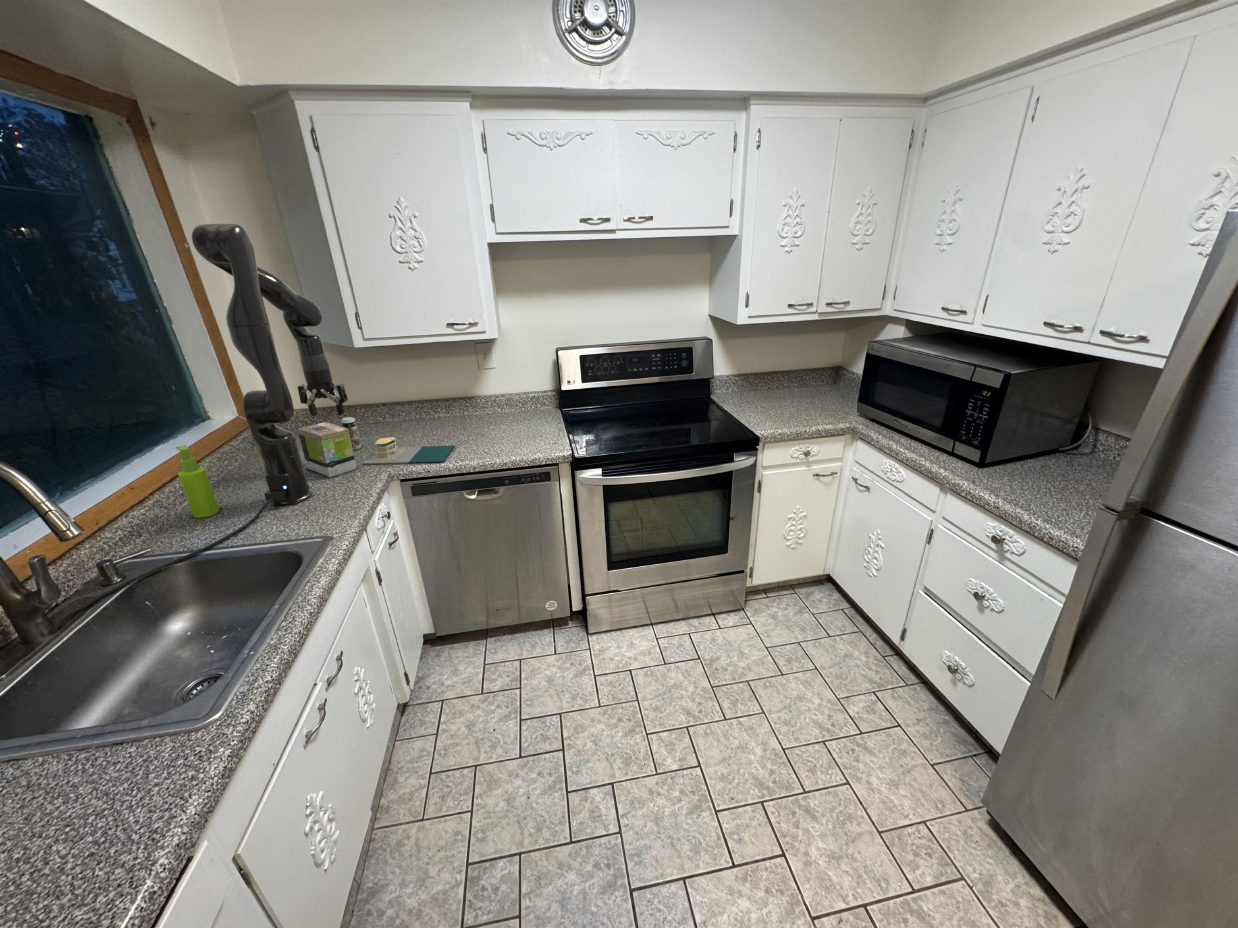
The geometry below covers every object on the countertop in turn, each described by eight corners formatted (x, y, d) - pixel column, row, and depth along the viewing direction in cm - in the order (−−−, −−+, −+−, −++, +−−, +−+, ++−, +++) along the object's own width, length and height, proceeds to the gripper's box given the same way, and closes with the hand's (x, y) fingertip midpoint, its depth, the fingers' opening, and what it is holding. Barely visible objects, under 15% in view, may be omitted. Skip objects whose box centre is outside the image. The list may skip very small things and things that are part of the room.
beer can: (355, 451, 190) (349, 420, 185) (344, 450, 191) (337, 420, 186) (364, 446, 194) (357, 417, 190) (353, 446, 195) (346, 416, 190)
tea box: (358, 468, 174) (349, 427, 168) (329, 478, 166) (318, 436, 161) (335, 459, 182) (325, 420, 176) (306, 468, 174) (295, 428, 168)
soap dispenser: (214, 505, 148) (192, 441, 141) (222, 512, 144) (199, 447, 137) (190, 512, 144) (165, 447, 137) (196, 520, 140) (172, 453, 133)
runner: (443, 462, 178) (442, 461, 178) (362, 464, 177) (362, 463, 177) (454, 447, 193) (454, 445, 193) (380, 448, 192) (379, 447, 192)
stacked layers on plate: (394, 459, 180) (392, 445, 178) (369, 459, 180) (366, 445, 178) (405, 449, 189) (403, 435, 187) (381, 449, 189) (378, 436, 187)
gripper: (287, 370, 159) (300, 419, 166) (333, 369, 160) (344, 418, 167) (299, 365, 166) (312, 412, 173) (343, 364, 167) (354, 411, 173)
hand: (328, 415), depth 170 cm, fingers open, 8 cm apart
